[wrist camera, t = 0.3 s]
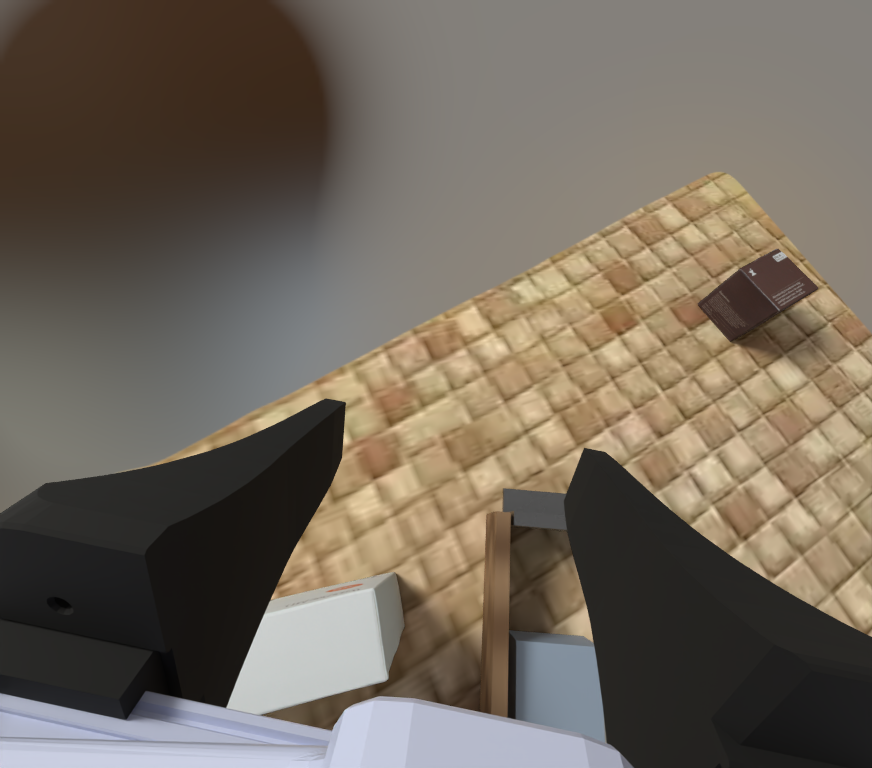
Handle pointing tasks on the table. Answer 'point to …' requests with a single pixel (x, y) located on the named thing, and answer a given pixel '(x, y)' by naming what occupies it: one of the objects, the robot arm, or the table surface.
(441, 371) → the table surface
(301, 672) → the skincare box
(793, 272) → the box
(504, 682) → the shelf
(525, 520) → the bookend
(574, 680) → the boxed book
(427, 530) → the table surface
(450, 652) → the table surface
